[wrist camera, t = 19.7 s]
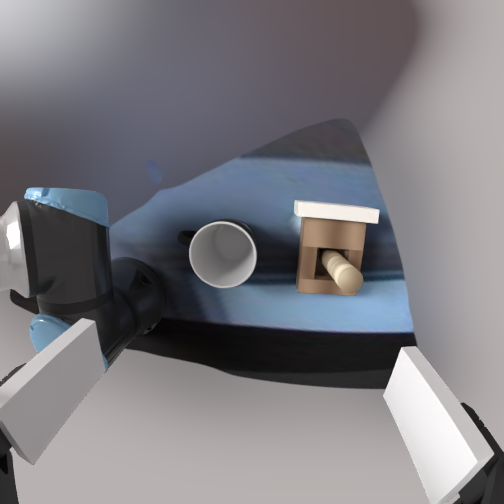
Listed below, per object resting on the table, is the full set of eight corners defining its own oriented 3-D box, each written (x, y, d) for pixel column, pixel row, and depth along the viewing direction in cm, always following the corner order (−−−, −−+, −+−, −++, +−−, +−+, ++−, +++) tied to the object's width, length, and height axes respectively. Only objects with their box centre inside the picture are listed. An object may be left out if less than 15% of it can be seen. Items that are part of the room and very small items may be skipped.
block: (295, 282, 47) (297, 292, 42) (301, 214, 44) (305, 217, 40) (348, 285, 46) (355, 295, 42) (357, 219, 44) (366, 223, 39)
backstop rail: (293, 212, 44) (297, 216, 38) (294, 199, 44) (298, 201, 38) (365, 218, 43) (377, 223, 38) (366, 206, 43) (379, 209, 37)
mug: (266, 221, 45) (265, 231, 35) (252, 273, 47) (247, 296, 37) (195, 203, 45) (174, 207, 35) (184, 254, 47) (162, 271, 37)
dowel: (317, 263, 45) (337, 293, 31) (319, 245, 44) (341, 268, 31) (334, 265, 45) (360, 294, 31) (337, 247, 44) (365, 270, 31)
